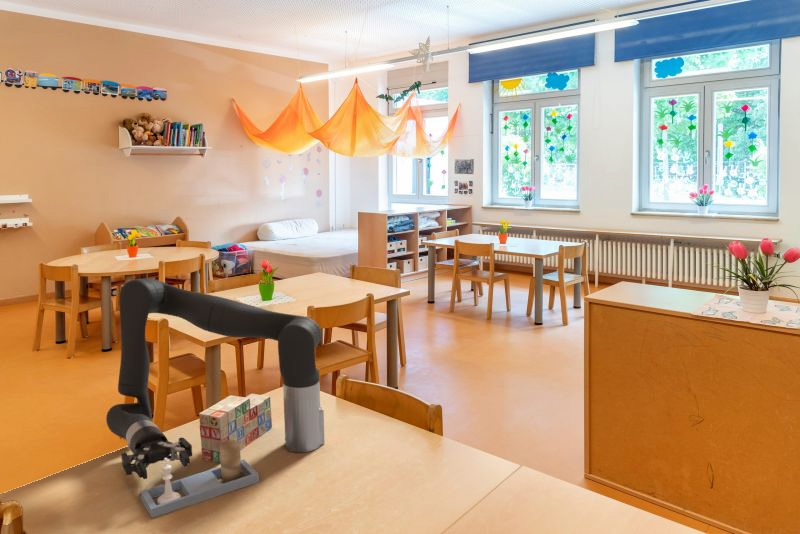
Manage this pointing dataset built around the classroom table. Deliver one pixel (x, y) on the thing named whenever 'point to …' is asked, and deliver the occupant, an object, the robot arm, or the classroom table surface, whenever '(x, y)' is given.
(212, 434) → the stack of blocks
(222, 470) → the tan brown upright column
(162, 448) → the robot arm
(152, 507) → the blue-grey slotted tray
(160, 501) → the chess piece
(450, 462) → the classroom table surface
